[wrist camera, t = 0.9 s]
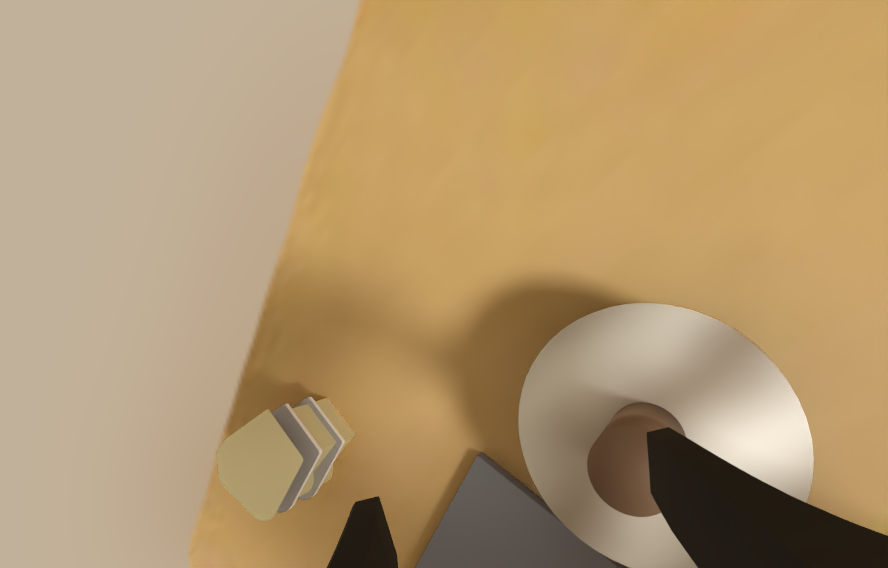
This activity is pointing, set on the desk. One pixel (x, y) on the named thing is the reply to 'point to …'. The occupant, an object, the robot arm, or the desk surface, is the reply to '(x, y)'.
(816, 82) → the desk surface
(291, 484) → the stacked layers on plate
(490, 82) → the desk surface
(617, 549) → the lid
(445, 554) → the mat
